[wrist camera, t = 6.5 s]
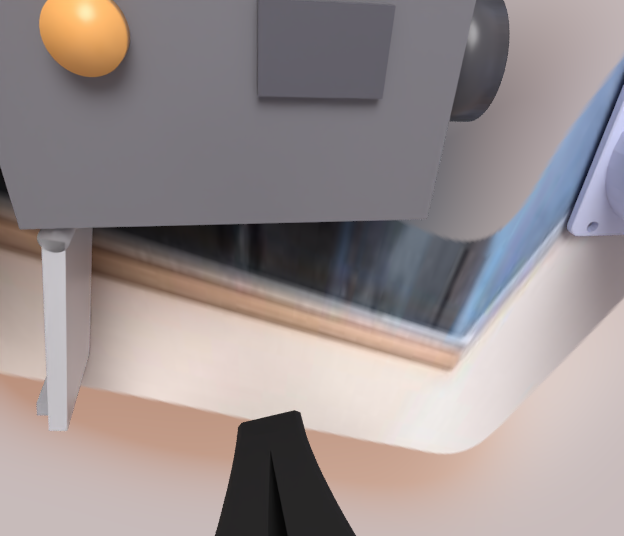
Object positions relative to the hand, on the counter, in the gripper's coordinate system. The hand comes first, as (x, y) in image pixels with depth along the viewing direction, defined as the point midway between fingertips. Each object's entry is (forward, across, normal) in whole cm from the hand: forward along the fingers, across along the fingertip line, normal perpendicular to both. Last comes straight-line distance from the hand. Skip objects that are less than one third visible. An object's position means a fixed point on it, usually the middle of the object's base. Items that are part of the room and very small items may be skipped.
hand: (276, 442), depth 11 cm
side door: (+9, +7, 0) cm, 12 cm away
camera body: (+10, -1, -7) cm, 12 cm away
